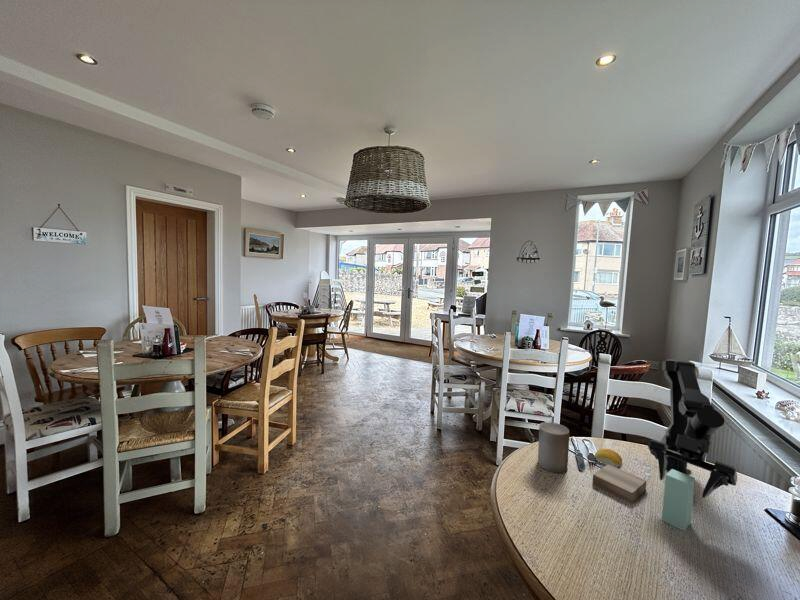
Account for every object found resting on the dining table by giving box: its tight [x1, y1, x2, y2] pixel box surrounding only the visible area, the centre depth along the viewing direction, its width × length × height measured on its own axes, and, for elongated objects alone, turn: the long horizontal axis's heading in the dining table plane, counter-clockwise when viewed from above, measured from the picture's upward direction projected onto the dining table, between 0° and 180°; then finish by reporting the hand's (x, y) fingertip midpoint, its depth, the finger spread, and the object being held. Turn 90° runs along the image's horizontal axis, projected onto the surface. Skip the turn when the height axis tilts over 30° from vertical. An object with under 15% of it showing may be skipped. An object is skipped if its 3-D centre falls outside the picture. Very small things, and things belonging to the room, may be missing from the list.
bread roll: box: [594, 448, 623, 468], centre depth 121 cm, size 8×9×4 cm
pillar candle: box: [537, 421, 570, 474], centre depth 116 cm, size 10×10×15 cm
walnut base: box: [592, 464, 647, 503], centre depth 106 cm, size 11×11×3 cm
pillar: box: [661, 469, 696, 532], centre depth 91 cm, size 5×5×13 cm
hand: (681, 488), depth 91 cm, fingers open, 9 cm apart
